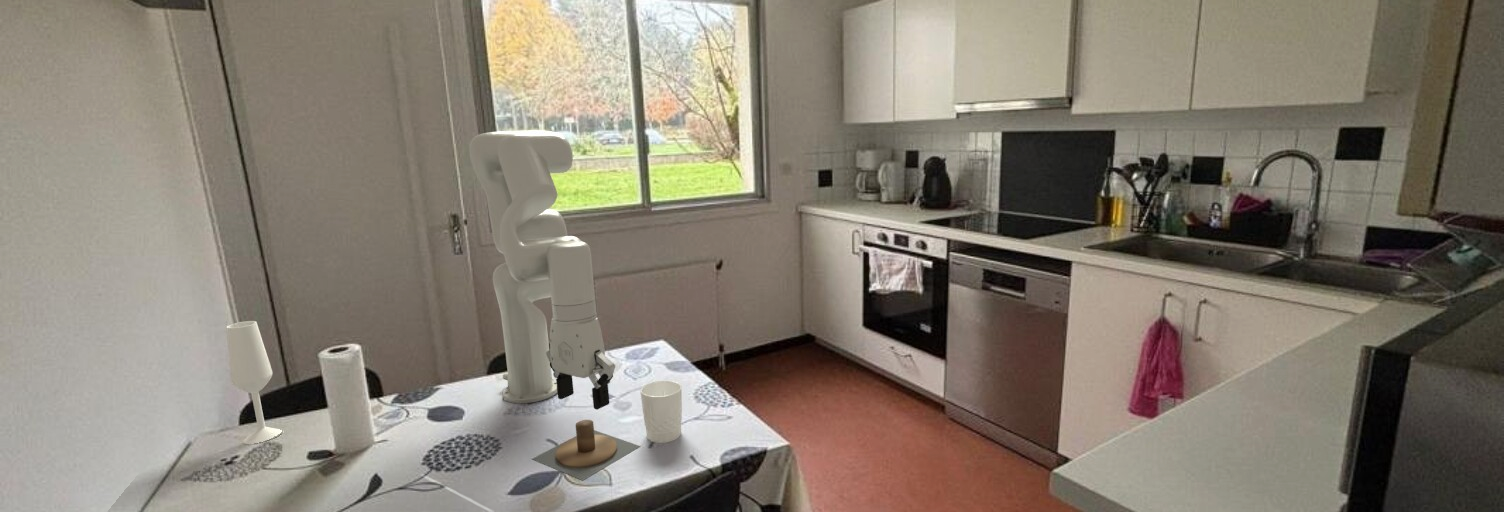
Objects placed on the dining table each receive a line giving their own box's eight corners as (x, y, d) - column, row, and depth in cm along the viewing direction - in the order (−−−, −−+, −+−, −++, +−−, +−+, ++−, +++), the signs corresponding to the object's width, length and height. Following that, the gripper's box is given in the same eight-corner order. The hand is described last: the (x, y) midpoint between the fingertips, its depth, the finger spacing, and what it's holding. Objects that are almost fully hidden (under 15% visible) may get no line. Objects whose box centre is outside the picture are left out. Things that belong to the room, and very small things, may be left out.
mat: (531, 460, 116) (531, 458, 116) (590, 430, 127) (590, 428, 127) (582, 482, 108) (582, 480, 108) (640, 448, 120) (640, 446, 120)
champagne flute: (281, 438, 128) (260, 325, 124) (240, 447, 125) (216, 331, 121) (285, 426, 134) (265, 317, 130) (245, 434, 131) (223, 323, 126)
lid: (543, 457, 116) (540, 428, 115) (589, 433, 125) (587, 406, 124) (583, 473, 110) (581, 443, 109) (629, 447, 119) (627, 419, 118)
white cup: (676, 447, 120) (673, 397, 118) (637, 444, 121) (634, 395, 119) (689, 428, 127) (686, 381, 125) (652, 425, 129) (649, 379, 127)
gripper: (526, 310, 114) (536, 400, 117) (591, 321, 104) (600, 418, 107) (560, 301, 120) (568, 386, 123) (624, 311, 111) (632, 403, 113)
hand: (583, 401), depth 115 cm, fingers open, 9 cm apart
